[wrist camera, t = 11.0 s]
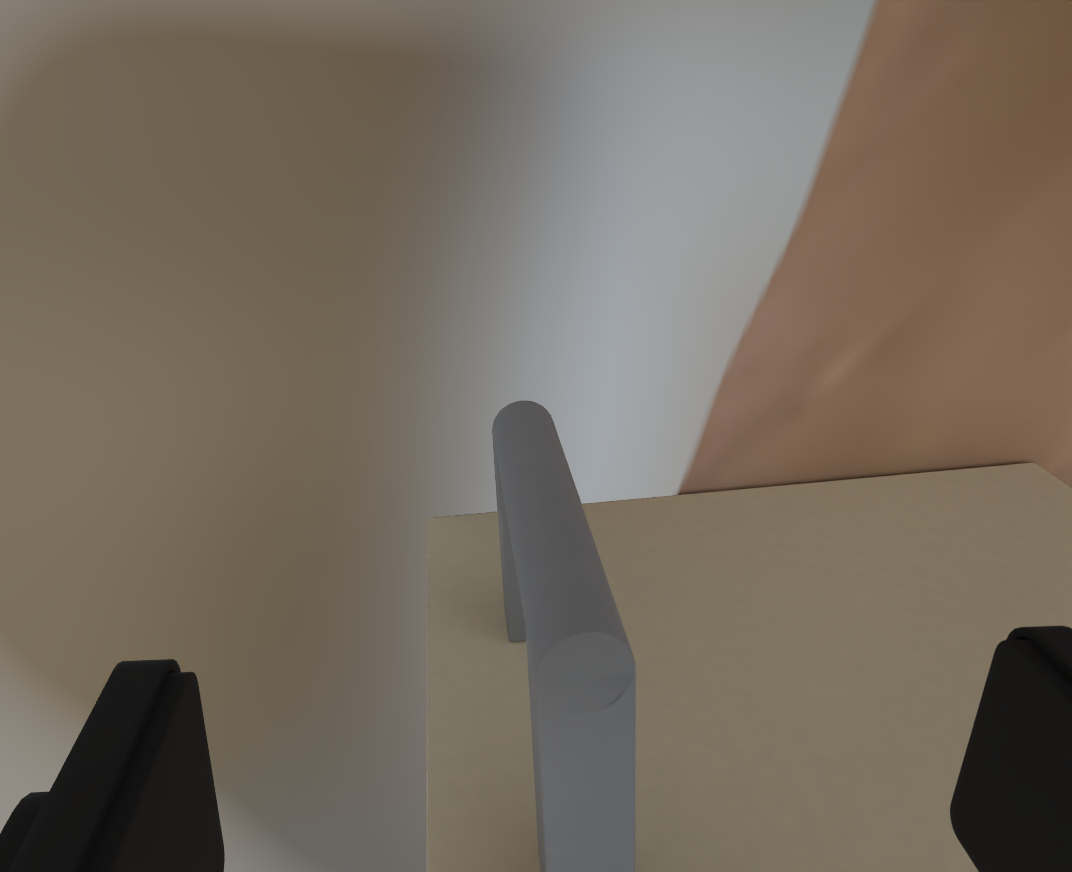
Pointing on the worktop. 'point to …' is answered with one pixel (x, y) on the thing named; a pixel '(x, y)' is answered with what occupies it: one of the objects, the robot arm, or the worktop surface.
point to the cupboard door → (721, 665)
